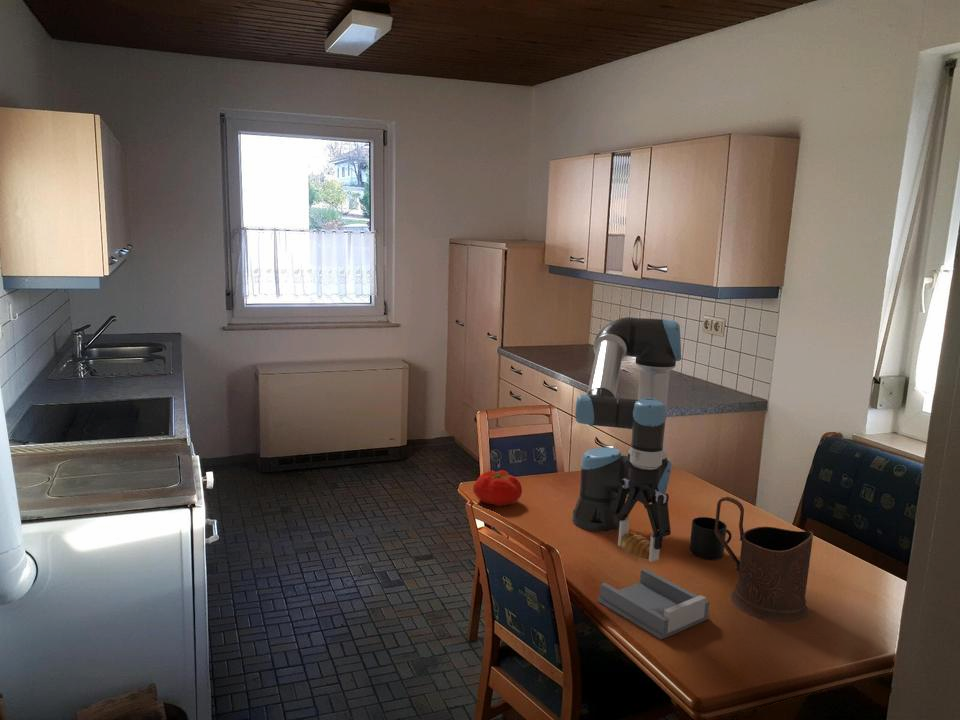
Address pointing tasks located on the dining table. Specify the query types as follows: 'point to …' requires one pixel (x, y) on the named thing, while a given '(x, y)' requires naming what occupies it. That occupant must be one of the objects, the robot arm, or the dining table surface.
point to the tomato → (497, 488)
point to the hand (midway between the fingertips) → (637, 552)
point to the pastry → (636, 545)
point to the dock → (656, 605)
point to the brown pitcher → (770, 571)
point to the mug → (707, 538)
